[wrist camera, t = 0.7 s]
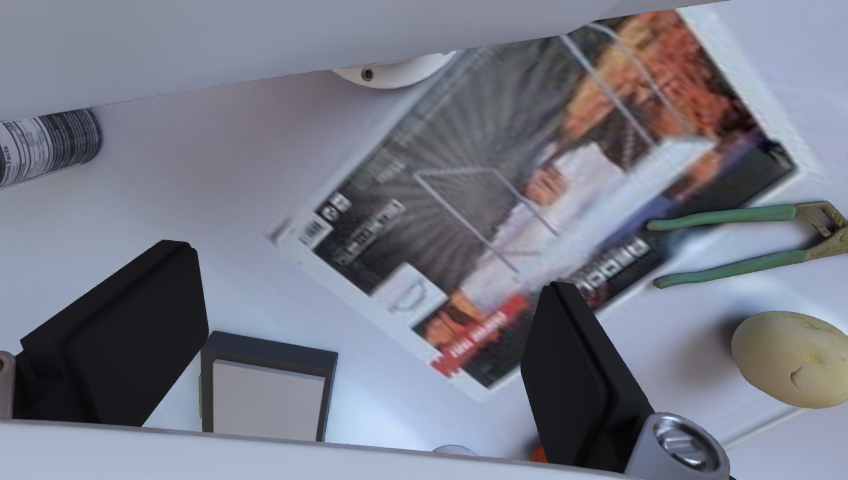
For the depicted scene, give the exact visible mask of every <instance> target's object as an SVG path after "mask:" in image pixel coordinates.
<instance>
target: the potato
mask: <svg viewBox="0 0 848 480" xmlns="http://www.w3.org/2000/svg"><path fill="white" fill-rule="evenodd" d="M731 348H732V354H733V357H734V360H735V362H736V364H737V366H738V368H739V370H740V372H741V373H742V375H743V376H744V378H745V379H746V380H747V381H748V382H749V383H750V384H751V385H753V386H754V387H756V388H757V389H759V390H761V391H763V392H765V393H766V394H768V395H770V396H772V397H774V398H775V399H777V400H779V401H781V402H784V403H786V404H789V405H793V406H798V407H803V408H813V409H819V408H829V407H833V406H836V405H839V404H841V403H844V402H846V401H847V400H848V336H847V335H845V334H844V333H843V332H842V331H840V330H839V329H837V328H836V327H834V326H833V325H831V324H829V323H827V322H825V321H823V320H820V319H818V318H815V317H812V316H808V315H805V314H800V313H795V312H787V311H769V312H763V313H759V314H756V315H753V316H751V317H749V318H748V319H746V320H745V321H743V322H742V323H741V324H740V325H739V326H738V327H737V329H736V330H735V332H734V335H733V337H732V345H731Z"/></svg>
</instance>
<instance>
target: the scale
mask: <svg viewBox="0 0 848 480" xmlns="http://www.w3.org/2000/svg"><path fill="white" fill-rule="evenodd" d="M337 358H338V353H336V352H330V351H325V350H319V349H313V348H308V347H302V346H296V345H291V344H285V343H280V342H274V341H268V340H263V339H257V338H251V337H246V336H240V335H235V334H229V333H223V332H218V331H213V332H212V333H211V335H210V336H209V337H208V338H207V341H206V342H205V344H204V345H203V347H202V348H201V374H200V376H199V405H200V418H202V431H203V432H208V433H221V434H233V435H245V436H257V437H269V438H281V439H292V440H304V441H316V442H324V438H325V432H326V425H327V419H328V413H329V407H330V401H331V395H332V389H333V383H334V377H335V371H336V364H337Z"/></svg>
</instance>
